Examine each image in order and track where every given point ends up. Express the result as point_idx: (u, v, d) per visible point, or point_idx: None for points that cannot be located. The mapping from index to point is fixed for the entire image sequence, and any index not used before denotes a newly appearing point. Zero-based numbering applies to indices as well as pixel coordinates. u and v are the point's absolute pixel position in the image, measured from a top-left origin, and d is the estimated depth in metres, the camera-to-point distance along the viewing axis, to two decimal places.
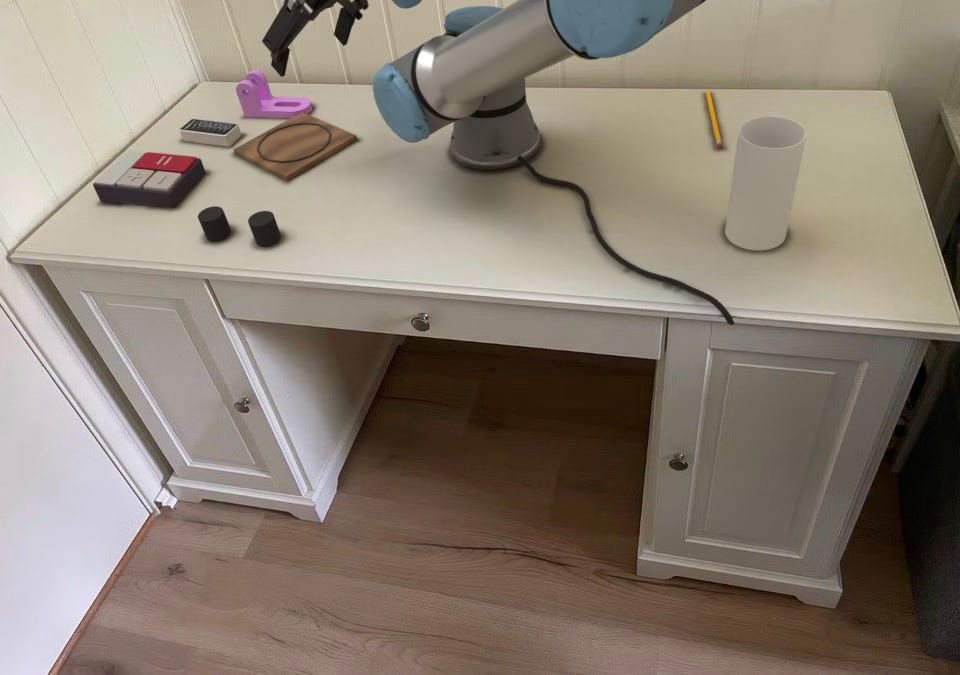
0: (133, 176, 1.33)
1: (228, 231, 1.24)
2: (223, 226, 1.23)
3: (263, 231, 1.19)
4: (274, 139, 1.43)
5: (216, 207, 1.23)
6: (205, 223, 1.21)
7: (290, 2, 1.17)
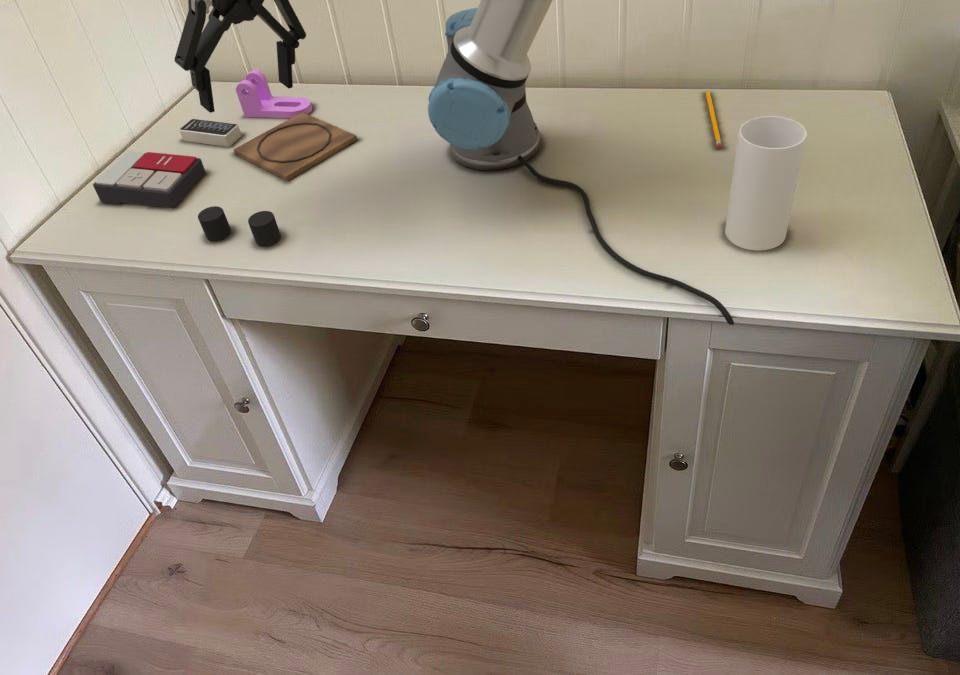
0: (133, 176, 1.33)
1: (228, 231, 1.24)
2: (223, 226, 1.23)
3: (263, 231, 1.19)
4: (274, 139, 1.43)
5: (216, 207, 1.23)
6: (205, 223, 1.21)
7: (192, 2, 1.05)
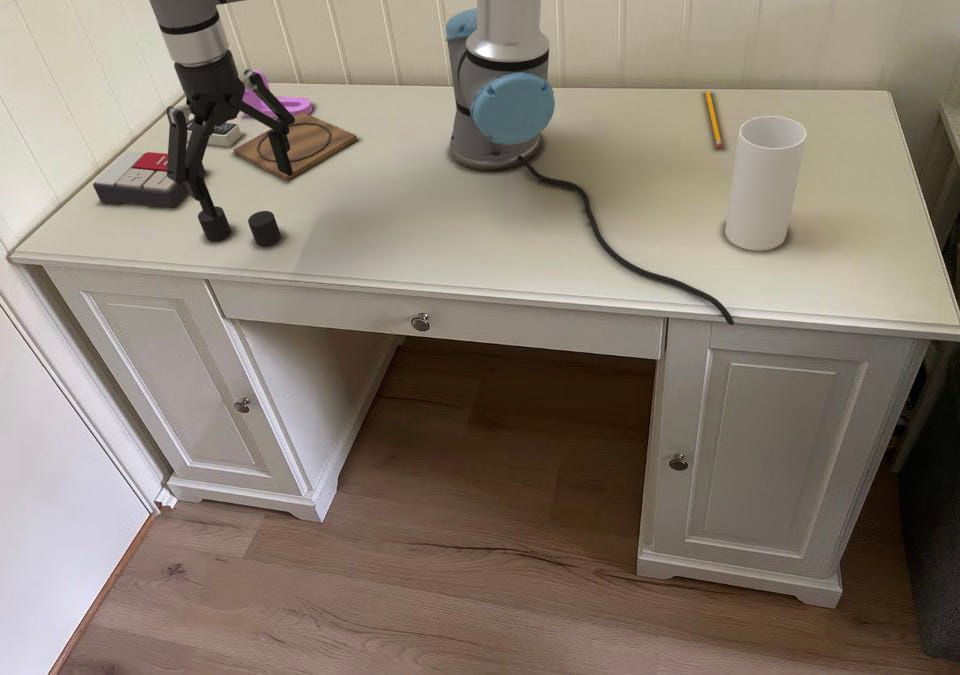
0: (133, 176, 1.33)
1: (228, 231, 1.24)
2: (223, 226, 1.23)
3: (263, 231, 1.19)
4: None
5: (216, 207, 1.23)
6: (205, 223, 1.21)
7: (170, 115, 1.02)
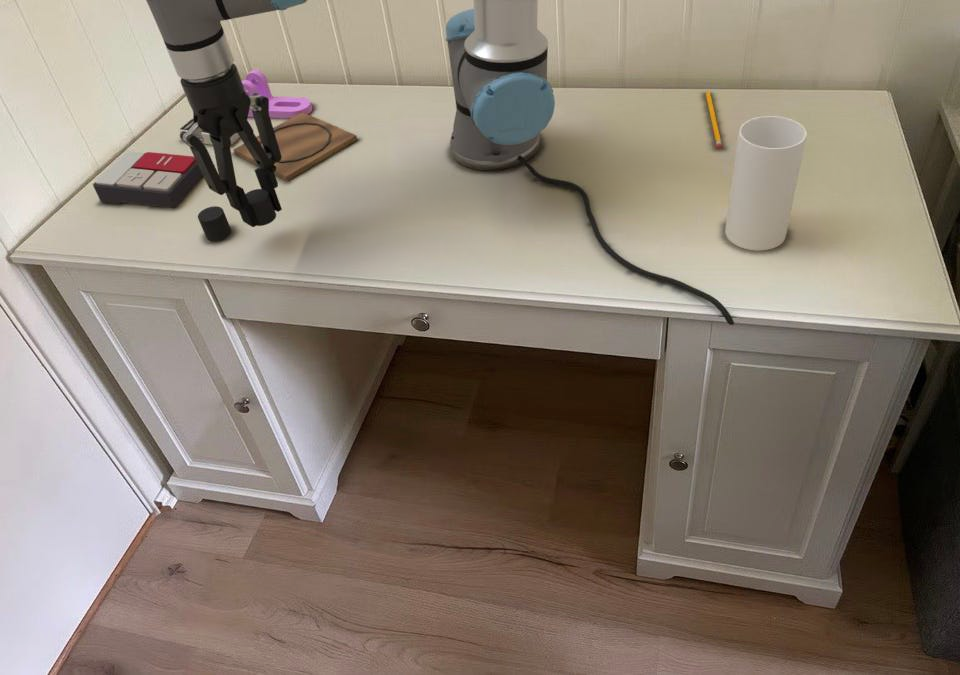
0: (133, 176, 1.33)
1: (228, 231, 1.24)
2: (223, 226, 1.23)
3: (258, 209, 1.16)
4: None
5: (216, 207, 1.23)
6: (205, 223, 1.21)
7: (185, 141, 1.05)
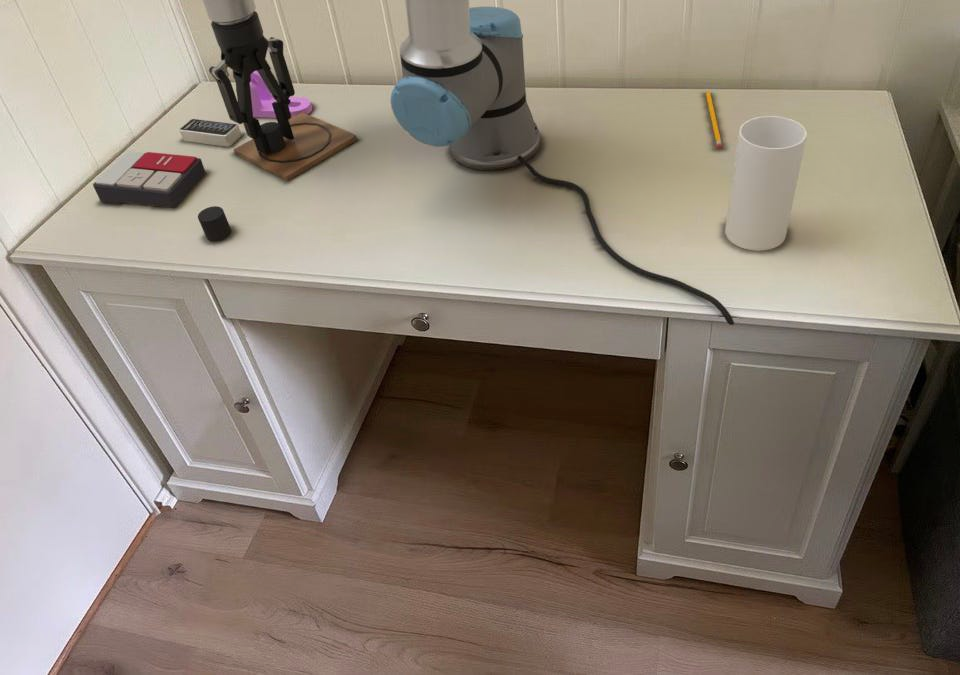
0: (133, 176, 1.33)
1: (228, 231, 1.24)
2: (223, 226, 1.23)
3: (271, 138, 1.38)
4: None
5: (216, 207, 1.23)
6: (205, 223, 1.21)
7: (214, 74, 1.27)
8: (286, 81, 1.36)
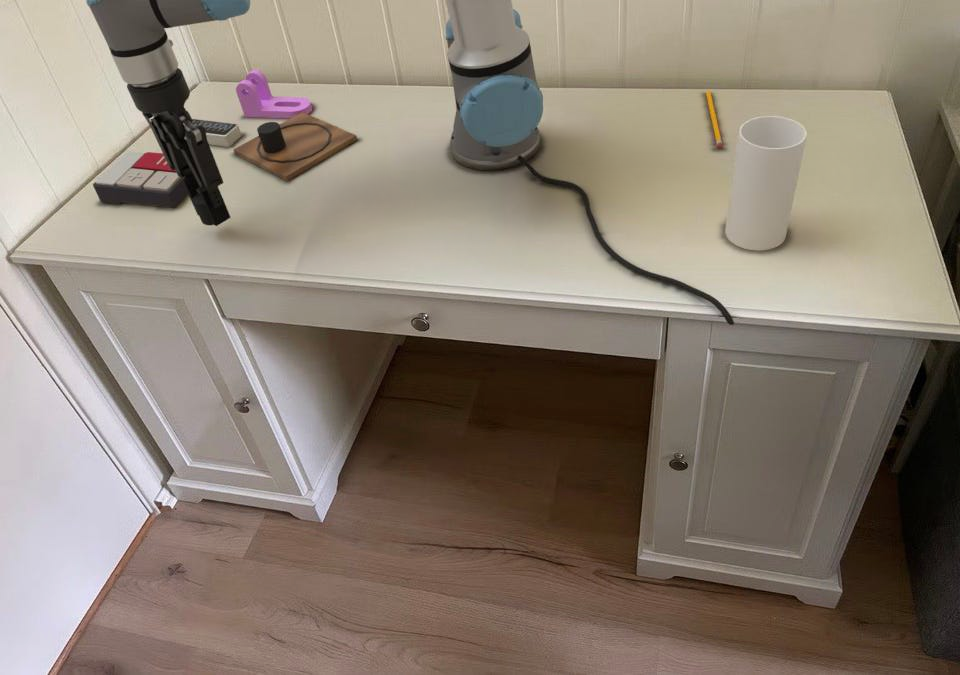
0: (133, 176, 1.33)
1: None
2: None
3: (271, 138, 1.38)
4: None
5: None
6: (200, 206, 1.19)
7: None
8: (200, 173, 1.12)
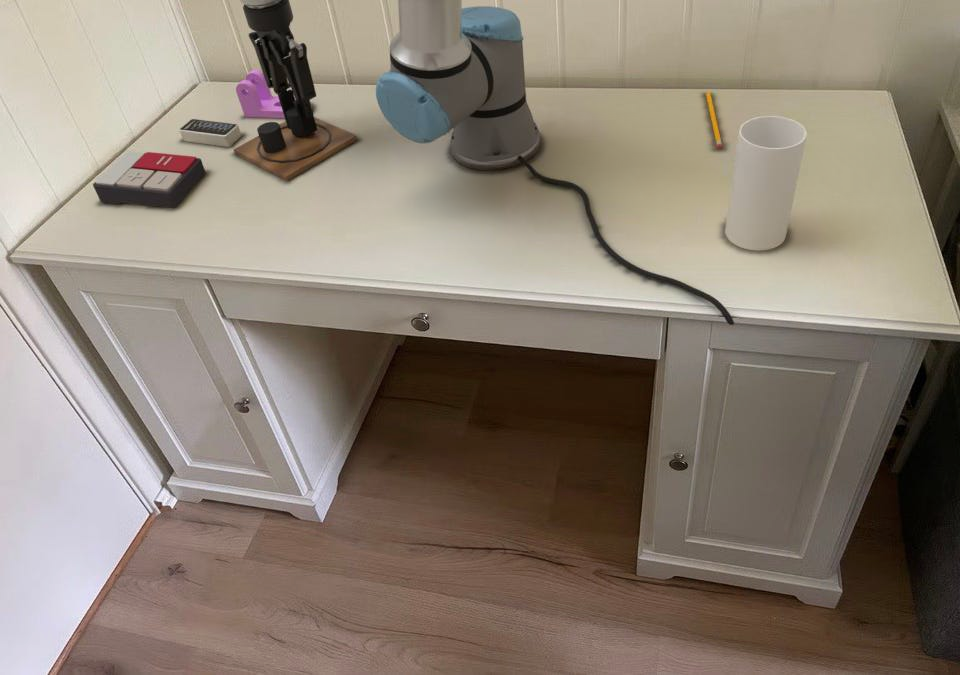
0: (133, 176, 1.33)
1: None
2: None
3: (271, 138, 1.38)
4: None
5: None
6: (293, 118, 1.40)
7: None
8: (298, 86, 1.33)
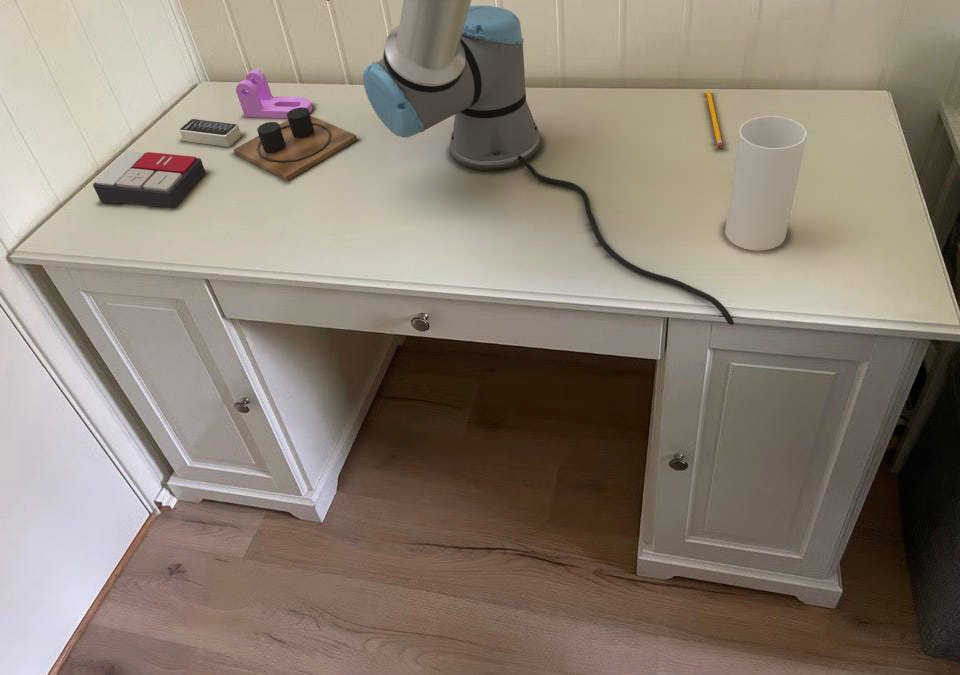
0: (133, 176, 1.33)
1: (312, 129, 1.43)
2: (308, 124, 1.42)
3: (271, 138, 1.38)
4: None
5: (302, 108, 1.42)
6: (294, 120, 1.40)
7: None
8: None
